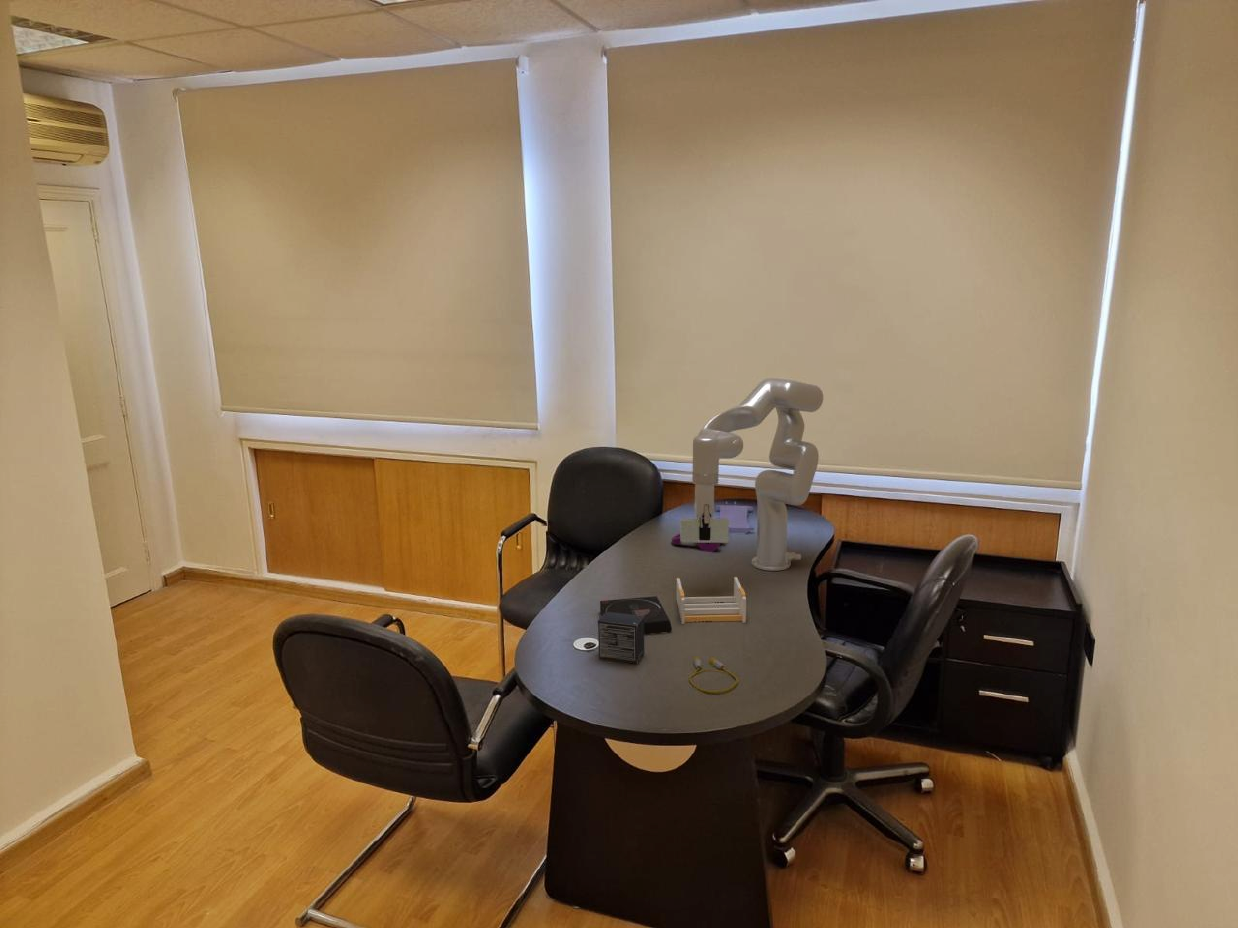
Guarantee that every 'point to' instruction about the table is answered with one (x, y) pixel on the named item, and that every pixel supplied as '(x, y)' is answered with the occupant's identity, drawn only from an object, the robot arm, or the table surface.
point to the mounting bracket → (704, 546)
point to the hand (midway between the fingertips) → (704, 537)
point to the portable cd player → (641, 612)
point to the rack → (712, 606)
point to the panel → (691, 531)
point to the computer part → (736, 517)
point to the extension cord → (716, 664)
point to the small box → (621, 637)
